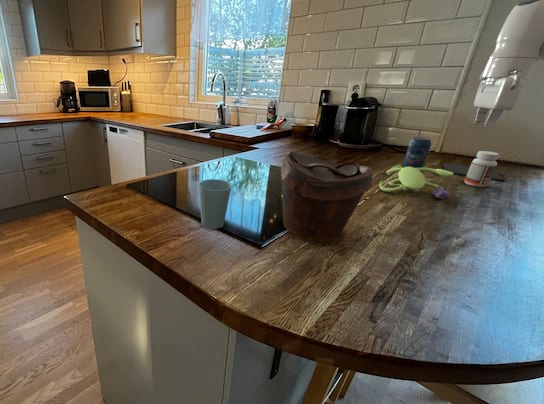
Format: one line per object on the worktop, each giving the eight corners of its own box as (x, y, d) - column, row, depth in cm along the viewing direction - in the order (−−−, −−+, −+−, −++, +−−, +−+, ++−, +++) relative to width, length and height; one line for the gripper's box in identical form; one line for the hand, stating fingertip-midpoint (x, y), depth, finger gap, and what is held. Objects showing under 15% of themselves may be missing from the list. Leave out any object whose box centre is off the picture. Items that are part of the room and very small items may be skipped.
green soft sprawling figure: (448, 183, 105) (454, 167, 103) (449, 206, 86) (456, 188, 83) (387, 172, 115) (391, 158, 113) (375, 191, 96) (380, 174, 94)
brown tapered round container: (377, 245, 65) (402, 167, 58) (292, 252, 62) (308, 170, 55) (328, 211, 81) (343, 146, 74) (259, 215, 78) (267, 148, 71)
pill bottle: (483, 183, 105) (497, 151, 100) (490, 188, 100) (504, 155, 95) (461, 180, 108) (474, 149, 103) (466, 185, 103) (479, 153, 98)
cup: (202, 232, 69) (204, 191, 65) (193, 218, 76) (194, 180, 72) (232, 229, 71) (236, 188, 67) (221, 215, 78) (224, 178, 74)
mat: (495, 172, 118) (495, 170, 118) (503, 181, 107) (504, 179, 107) (443, 165, 126) (444, 163, 126) (446, 173, 116) (447, 171, 116)
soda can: (402, 167, 121) (411, 138, 117) (402, 164, 127) (411, 135, 122) (423, 171, 118) (433, 140, 113) (422, 167, 123) (432, 138, 118)
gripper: (541, 69, 67) (511, 131, 72) (509, 74, 83) (487, 124, 89) (504, 68, 70) (477, 127, 75) (480, 73, 86) (460, 121, 92)
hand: (482, 126), depth 82 cm, fingers open, 8 cm apart
